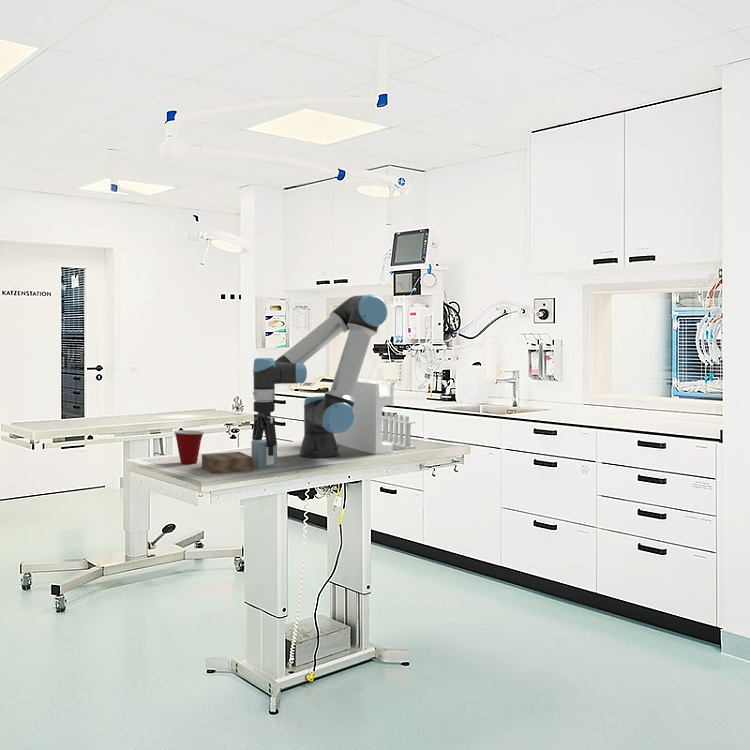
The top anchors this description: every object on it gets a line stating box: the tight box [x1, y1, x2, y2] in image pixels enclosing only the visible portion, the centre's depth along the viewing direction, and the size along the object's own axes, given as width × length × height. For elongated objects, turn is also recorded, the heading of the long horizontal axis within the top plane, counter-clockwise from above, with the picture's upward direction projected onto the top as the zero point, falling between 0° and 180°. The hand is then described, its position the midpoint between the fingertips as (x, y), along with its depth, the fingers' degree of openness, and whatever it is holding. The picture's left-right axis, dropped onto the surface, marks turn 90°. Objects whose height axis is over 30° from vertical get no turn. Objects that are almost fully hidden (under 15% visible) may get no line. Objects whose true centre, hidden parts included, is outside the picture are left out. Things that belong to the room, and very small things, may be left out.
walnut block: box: [201, 451, 254, 475], centre depth 284 cm, size 14×14×5 cm
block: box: [334, 378, 395, 456], centre depth 334 cm, size 35×8×28 cm, turn 31°
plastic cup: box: [173, 429, 205, 465], centre depth 295 cm, size 11×11×12 cm
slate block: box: [251, 438, 278, 469], centre depth 291 cm, size 7×7×9 cm
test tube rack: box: [382, 411, 417, 450], centre depth 344 cm, size 25×4×13 cm, turn 28°
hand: (264, 462), depth 291 cm, fingers open, 10 cm apart
